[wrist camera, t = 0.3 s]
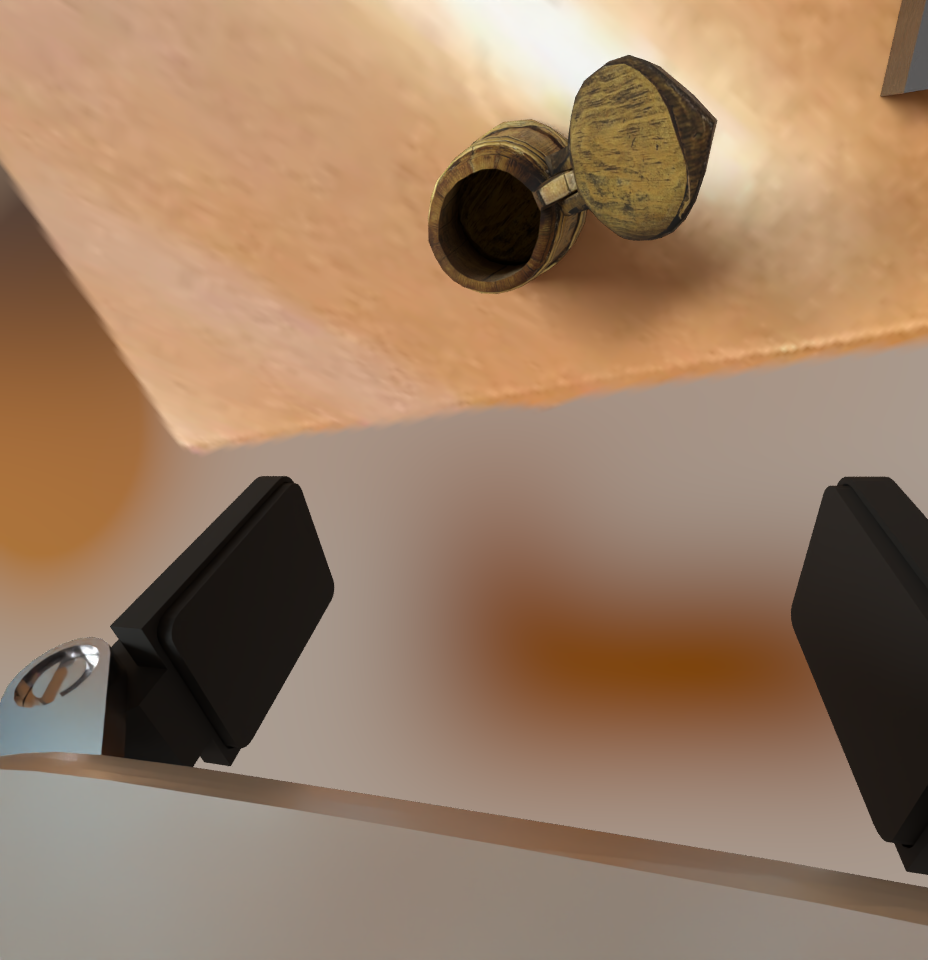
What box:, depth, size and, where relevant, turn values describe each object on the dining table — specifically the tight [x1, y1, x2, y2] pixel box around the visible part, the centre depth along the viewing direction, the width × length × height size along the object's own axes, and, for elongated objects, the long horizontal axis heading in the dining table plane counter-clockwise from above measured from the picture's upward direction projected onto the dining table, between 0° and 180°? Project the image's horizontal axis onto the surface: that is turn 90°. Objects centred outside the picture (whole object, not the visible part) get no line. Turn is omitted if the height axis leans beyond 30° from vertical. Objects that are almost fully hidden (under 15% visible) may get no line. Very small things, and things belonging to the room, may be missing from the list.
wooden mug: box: [428, 55, 717, 294], centre depth 25 cm, size 9×14×18 cm, turn 117°
